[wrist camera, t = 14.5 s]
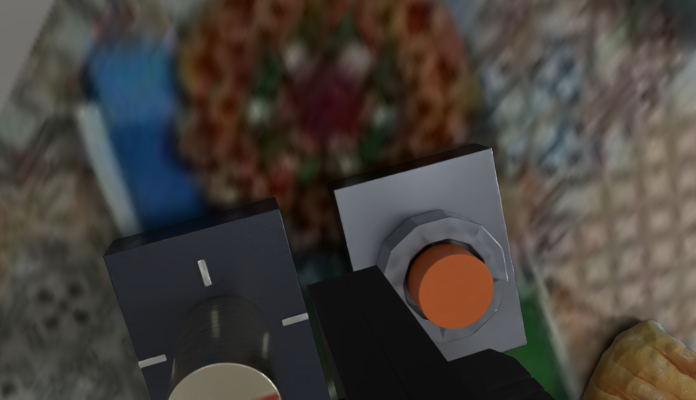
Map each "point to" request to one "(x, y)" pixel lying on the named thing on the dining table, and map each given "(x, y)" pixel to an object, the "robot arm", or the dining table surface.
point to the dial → (224, 354)
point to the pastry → (644, 367)
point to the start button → (450, 286)
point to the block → (434, 236)
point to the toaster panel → (215, 290)
